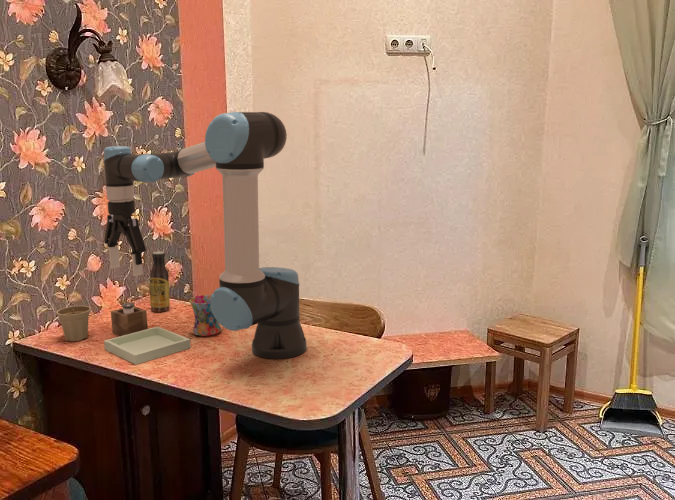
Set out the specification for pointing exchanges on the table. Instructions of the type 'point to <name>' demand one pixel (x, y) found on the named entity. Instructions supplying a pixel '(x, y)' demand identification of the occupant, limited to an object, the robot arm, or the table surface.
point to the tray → (147, 345)
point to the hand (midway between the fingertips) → (126, 271)
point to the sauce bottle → (159, 284)
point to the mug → (204, 316)
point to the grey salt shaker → (128, 307)
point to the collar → (128, 321)
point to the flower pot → (74, 322)
